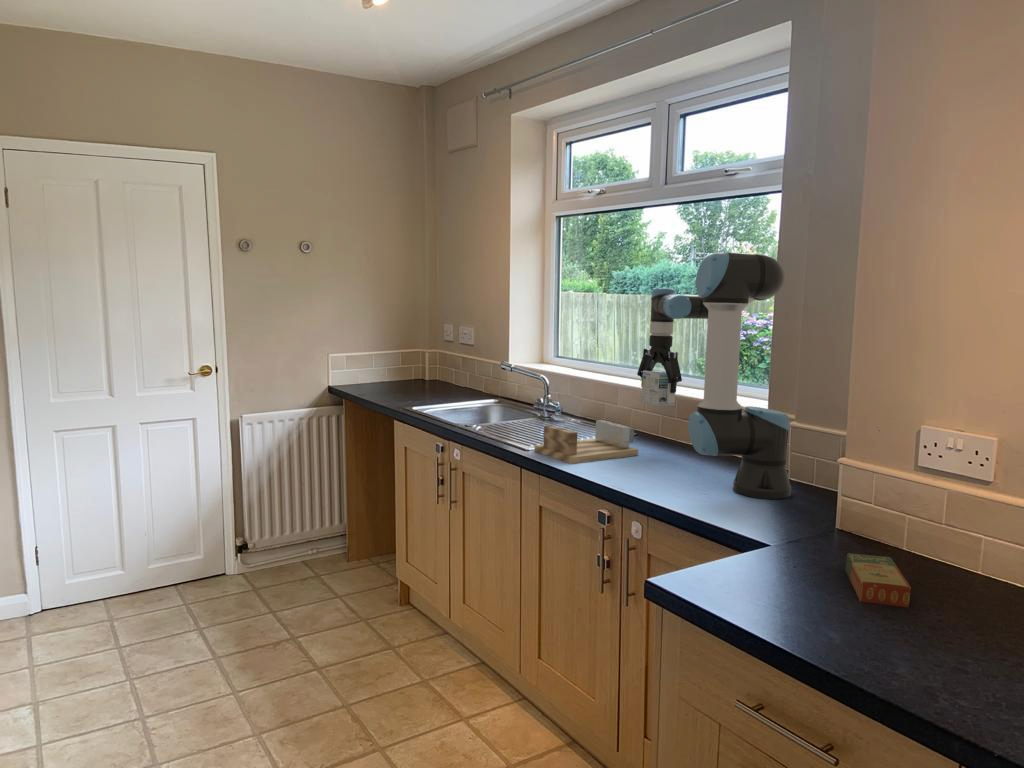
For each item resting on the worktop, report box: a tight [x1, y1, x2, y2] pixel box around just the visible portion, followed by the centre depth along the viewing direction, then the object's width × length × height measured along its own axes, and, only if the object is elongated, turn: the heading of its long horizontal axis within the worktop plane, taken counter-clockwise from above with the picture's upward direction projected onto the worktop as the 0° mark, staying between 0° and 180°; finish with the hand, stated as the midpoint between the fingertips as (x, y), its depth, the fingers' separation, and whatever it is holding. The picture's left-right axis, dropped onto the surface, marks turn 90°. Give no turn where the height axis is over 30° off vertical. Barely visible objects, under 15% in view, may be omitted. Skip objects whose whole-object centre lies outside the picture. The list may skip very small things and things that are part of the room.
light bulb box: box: [640, 370, 676, 407], centre depth 249 cm, size 11×7×11 cm, turn 22°
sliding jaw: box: [594, 419, 635, 448], centre depth 255 cm, size 14×10×7 cm
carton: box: [845, 552, 912, 608], centre depth 140 cm, size 8×16×4 cm, turn 165°
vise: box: [533, 424, 639, 465], centre depth 247 cm, size 20×28×9 cm
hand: (657, 400), depth 249 cm, fingers closed on light bulb box, 11 cm apart
